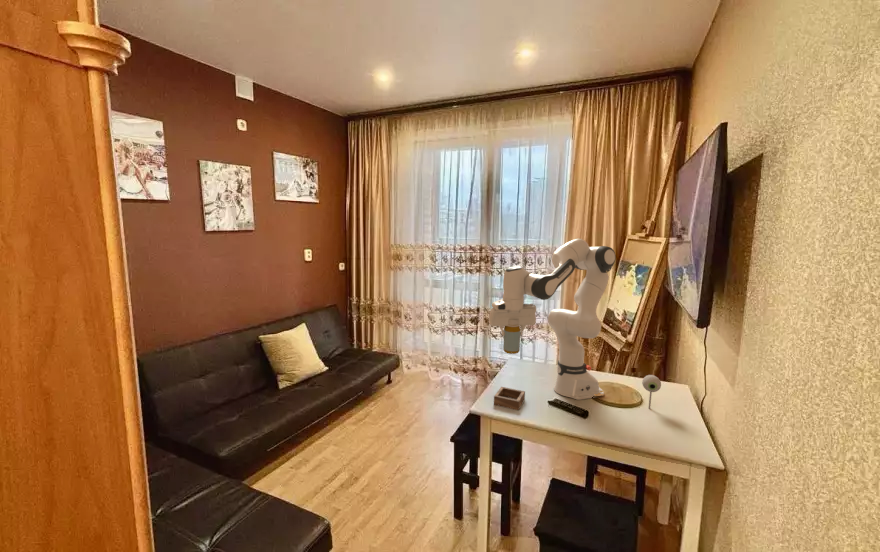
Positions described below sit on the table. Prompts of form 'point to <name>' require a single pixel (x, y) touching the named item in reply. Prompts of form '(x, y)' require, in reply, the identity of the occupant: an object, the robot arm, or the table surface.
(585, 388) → the robot arm
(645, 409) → the table surface
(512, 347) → the bottle
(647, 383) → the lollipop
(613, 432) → the table surface
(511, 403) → the pocket
